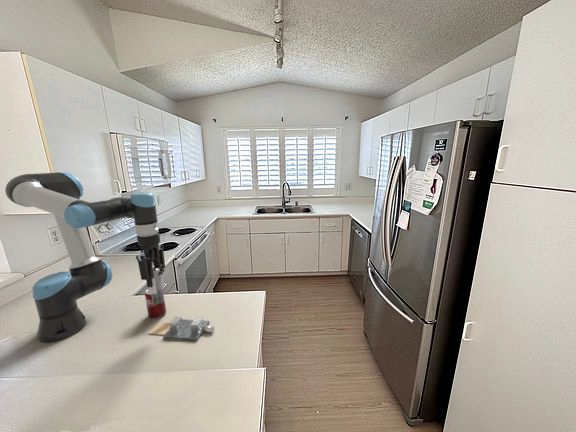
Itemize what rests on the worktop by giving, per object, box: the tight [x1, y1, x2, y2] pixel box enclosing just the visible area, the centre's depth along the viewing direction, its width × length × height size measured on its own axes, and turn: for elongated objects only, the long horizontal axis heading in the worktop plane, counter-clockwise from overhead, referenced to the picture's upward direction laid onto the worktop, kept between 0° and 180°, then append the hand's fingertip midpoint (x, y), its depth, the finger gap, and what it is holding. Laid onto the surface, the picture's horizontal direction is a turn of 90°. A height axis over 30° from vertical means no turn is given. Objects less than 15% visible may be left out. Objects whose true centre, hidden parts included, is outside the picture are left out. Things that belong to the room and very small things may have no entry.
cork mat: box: [148, 322, 170, 336], centre depth 104 cm, size 7×7×1 cm
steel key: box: [152, 266, 165, 304], centre depth 100 cm, size 6×4×14 cm, turn 94°
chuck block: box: [162, 316, 215, 342], centre depth 102 cm, size 18×11×4 cm, turn 84°
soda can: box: [144, 288, 167, 320], centre depth 112 cm, size 7×7×12 cm
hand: (156, 290), depth 100 cm, fingers closed on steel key, 4 cm apart
